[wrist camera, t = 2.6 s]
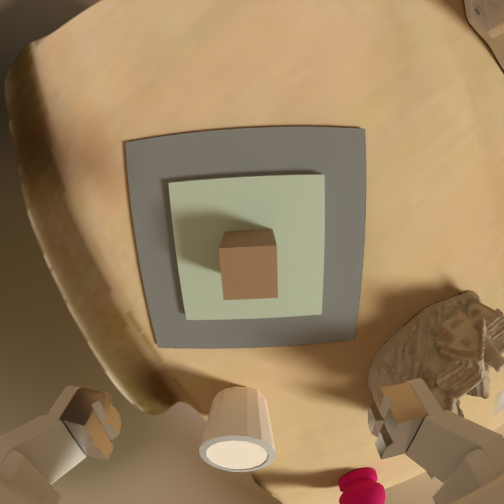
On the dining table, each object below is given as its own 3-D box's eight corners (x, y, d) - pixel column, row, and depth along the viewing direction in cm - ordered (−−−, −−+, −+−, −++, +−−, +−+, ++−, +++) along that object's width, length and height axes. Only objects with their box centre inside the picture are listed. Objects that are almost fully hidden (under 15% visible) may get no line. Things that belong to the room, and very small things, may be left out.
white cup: (252, 372, 27) (252, 428, 20) (283, 411, 29) (288, 462, 22) (194, 394, 28) (183, 445, 21) (229, 429, 30) (225, 477, 23)
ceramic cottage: (378, 429, 30) (420, 517, 16) (353, 338, 26) (426, 456, 12) (474, 371, 29) (533, 435, 15) (473, 270, 25) (573, 327, 11)
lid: (171, 182, 21) (149, 189, 16) (321, 174, 21) (340, 178, 16) (188, 315, 24) (175, 348, 20) (319, 309, 24) (332, 342, 19)
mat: (127, 142, 20) (125, 142, 20) (363, 129, 20) (364, 128, 19) (158, 345, 26) (157, 347, 25) (353, 337, 25) (354, 339, 25)
